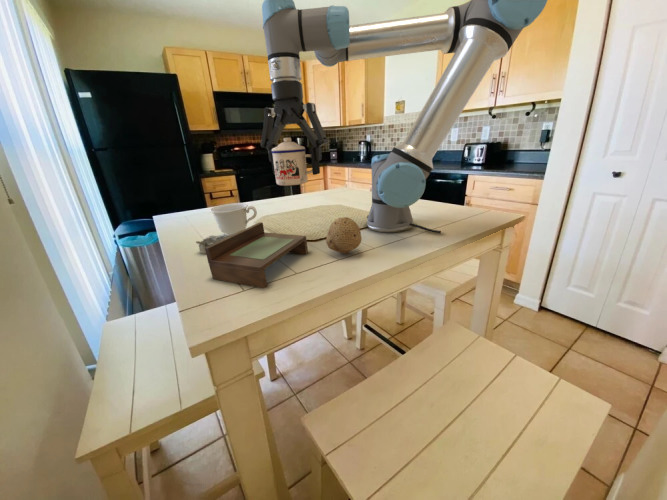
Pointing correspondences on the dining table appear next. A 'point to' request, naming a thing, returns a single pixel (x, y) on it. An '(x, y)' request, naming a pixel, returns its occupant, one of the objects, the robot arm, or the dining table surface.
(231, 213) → the teacup
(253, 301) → the dining table surface
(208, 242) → the egg carton
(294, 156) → the teacup with lid
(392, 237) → the dining table surface
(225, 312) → the dining table surface
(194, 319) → the dining table surface
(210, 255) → the shelf
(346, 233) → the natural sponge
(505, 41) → the robot arm
